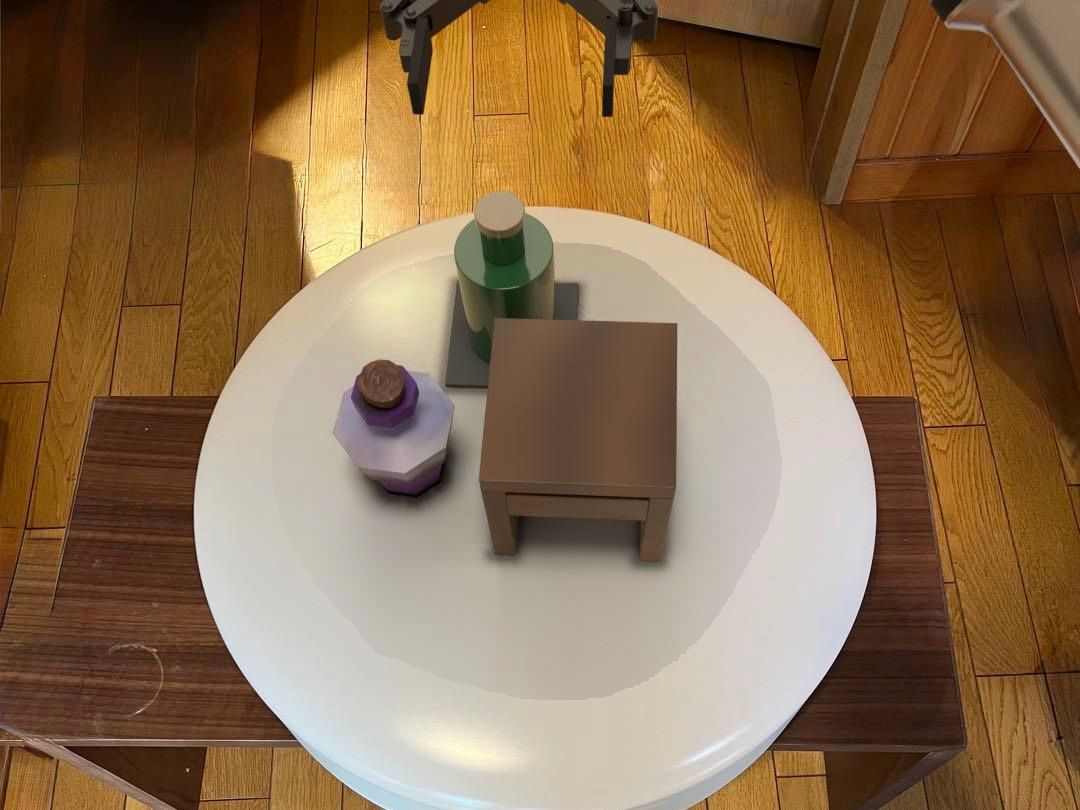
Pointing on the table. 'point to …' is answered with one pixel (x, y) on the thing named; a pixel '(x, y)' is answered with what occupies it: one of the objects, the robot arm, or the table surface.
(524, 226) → the green bottle
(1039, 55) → the robot arm
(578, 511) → the walnut table
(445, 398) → the potion bottle
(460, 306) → the felt mat
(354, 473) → the table surface
